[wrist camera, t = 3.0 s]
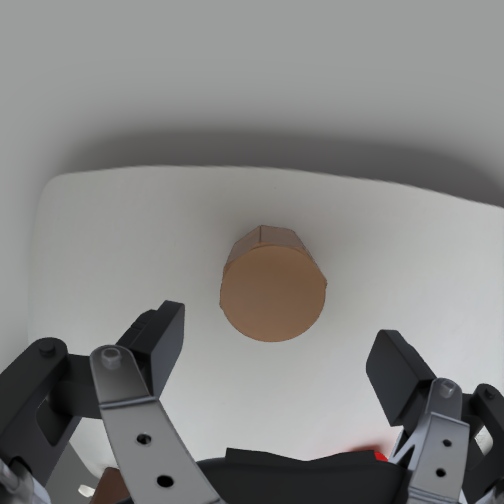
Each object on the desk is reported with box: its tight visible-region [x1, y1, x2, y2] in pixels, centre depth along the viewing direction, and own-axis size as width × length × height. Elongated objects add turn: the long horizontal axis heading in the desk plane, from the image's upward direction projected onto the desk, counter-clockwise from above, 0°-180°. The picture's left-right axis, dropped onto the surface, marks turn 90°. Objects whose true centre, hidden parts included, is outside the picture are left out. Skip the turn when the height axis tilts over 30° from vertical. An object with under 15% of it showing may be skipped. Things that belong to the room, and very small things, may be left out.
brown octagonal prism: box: [220, 225, 327, 342], centre depth 18 cm, size 6×6×6 cm
